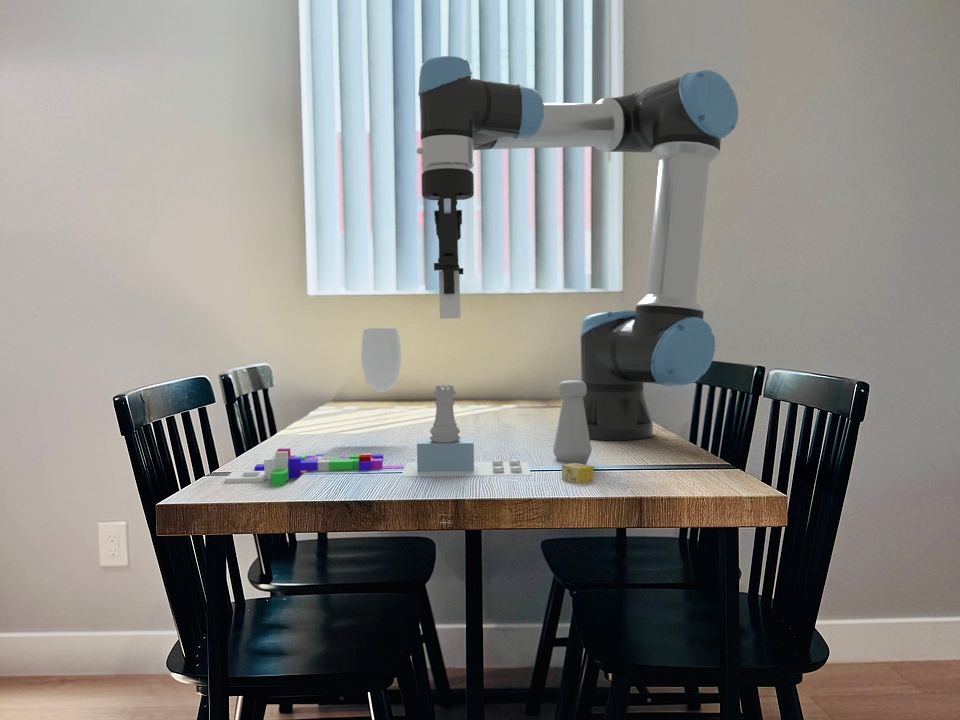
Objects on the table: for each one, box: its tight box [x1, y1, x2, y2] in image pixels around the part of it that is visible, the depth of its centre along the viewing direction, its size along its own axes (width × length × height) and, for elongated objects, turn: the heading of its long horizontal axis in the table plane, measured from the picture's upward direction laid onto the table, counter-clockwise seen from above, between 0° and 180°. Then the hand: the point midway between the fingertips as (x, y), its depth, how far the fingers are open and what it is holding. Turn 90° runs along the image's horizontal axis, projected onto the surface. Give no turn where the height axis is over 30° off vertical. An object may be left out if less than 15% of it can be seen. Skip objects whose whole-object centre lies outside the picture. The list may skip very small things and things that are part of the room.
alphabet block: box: [561, 462, 594, 484], centre depth 108 cm, size 3×3×3 cm
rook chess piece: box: [429, 384, 461, 443], centre depth 115 cm, size 4×4×8 cm
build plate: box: [400, 459, 532, 477], centre depth 116 cm, size 18×10×2 cm, turn 90°
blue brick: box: [416, 438, 475, 472], centre depth 115 cm, size 8×4×4 cm, turn 90°
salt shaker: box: [552, 379, 592, 465], centre depth 122 cm, size 6×6×13 cm
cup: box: [361, 327, 402, 394], centre depth 146 cm, size 7×7×21 cm
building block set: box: [224, 447, 405, 487], centre depth 121 cm, size 25×20×4 cm
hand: (450, 318), depth 117 cm, fingers open, 13 cm apart
